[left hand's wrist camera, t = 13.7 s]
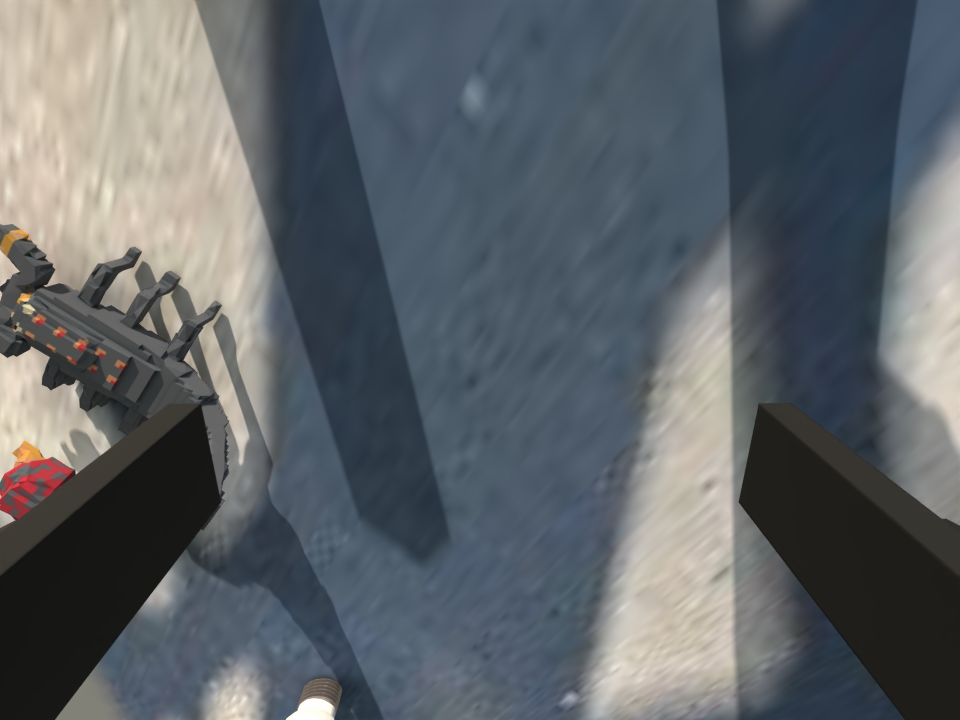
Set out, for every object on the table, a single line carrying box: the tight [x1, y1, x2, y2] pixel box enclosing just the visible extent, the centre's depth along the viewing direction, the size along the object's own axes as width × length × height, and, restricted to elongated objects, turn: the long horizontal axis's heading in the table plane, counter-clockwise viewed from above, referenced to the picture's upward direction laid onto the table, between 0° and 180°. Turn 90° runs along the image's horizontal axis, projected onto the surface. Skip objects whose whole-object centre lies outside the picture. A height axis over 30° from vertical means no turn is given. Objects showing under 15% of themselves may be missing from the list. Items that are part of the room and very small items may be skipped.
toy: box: [0, 224, 229, 530], centre depth 33 cm, size 13×27×18 cm, turn 52°
